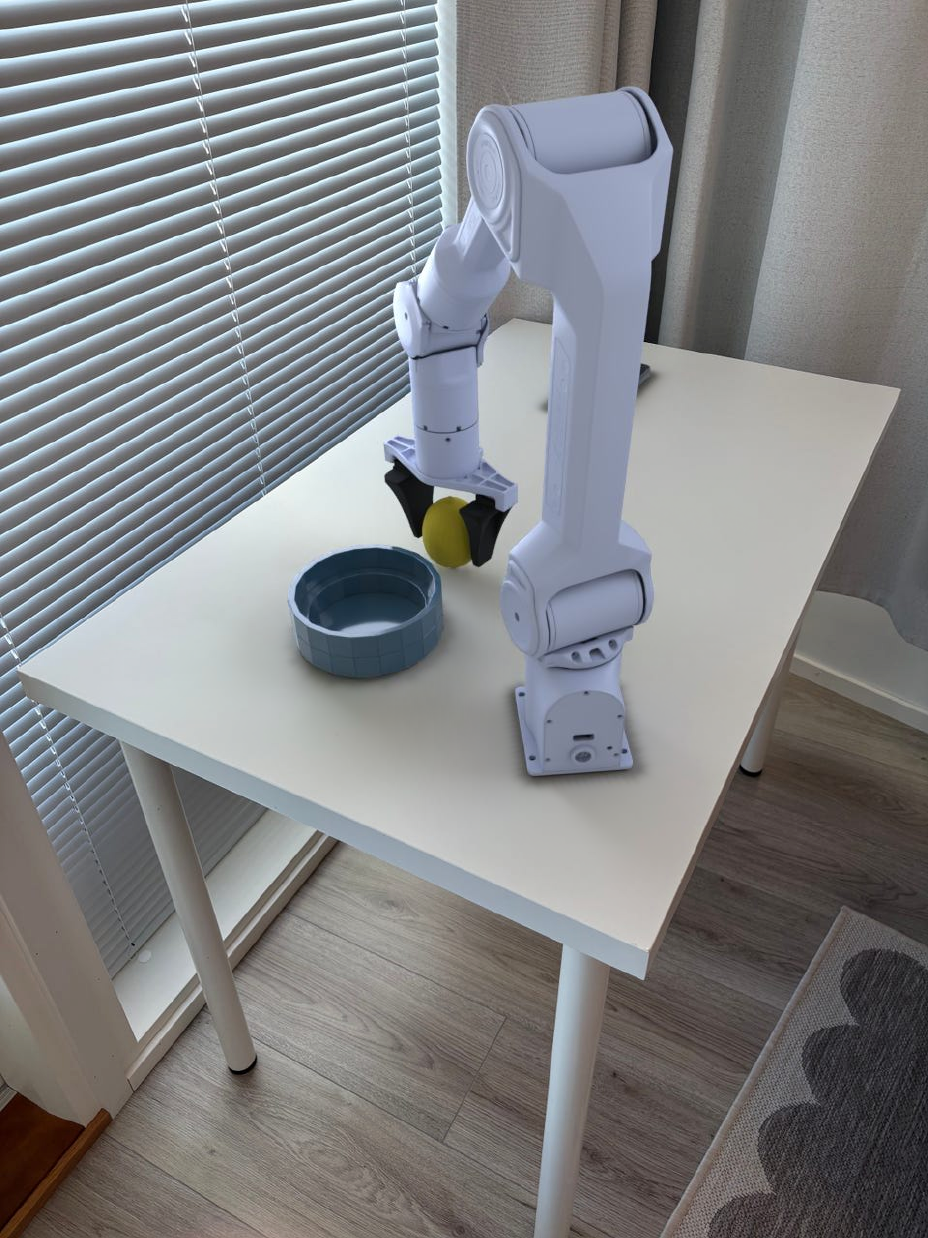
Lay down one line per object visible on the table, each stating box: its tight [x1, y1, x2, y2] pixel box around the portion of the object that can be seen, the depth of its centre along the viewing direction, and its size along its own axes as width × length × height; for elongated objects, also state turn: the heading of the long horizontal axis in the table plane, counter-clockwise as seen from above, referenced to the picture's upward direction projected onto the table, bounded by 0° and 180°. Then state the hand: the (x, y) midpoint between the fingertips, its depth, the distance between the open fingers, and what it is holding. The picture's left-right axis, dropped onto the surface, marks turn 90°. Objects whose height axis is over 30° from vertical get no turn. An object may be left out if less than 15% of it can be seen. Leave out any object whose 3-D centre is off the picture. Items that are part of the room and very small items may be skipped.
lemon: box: [421, 495, 472, 570], centre depth 90 cm, size 6×6×8 cm
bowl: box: [287, 543, 445, 678], centre depth 84 cm, size 13×13×5 cm
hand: (452, 546), depth 91 cm, fingers open, 7 cm apart
